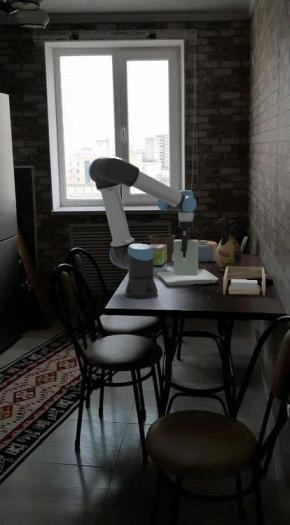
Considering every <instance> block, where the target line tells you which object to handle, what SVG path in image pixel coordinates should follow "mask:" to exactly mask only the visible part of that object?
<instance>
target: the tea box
mask: <svg viewBox="0 0 290 525" xmlns="http://www.w3.org/2000/svg"><path fill="white" fill-rule="evenodd" d="M148 245H149V246H151V247H152V249H153V254H154V257H153V271H154V274H157V272H166V270H167V269H168V262H167V245H155V244H151V243H150V244H148Z"/></svg>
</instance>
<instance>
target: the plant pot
mask: <svg viewBox="0 0 290 525" xmlns="http://www.w3.org/2000/svg"><path fill="white" fill-rule="evenodd" d="M148 237H149V241H150V245H151V244H155V245H167V263H171V262H172V261H173V259H174V240H175V237H176V235H175V234H153V235H149V236H148Z"/></svg>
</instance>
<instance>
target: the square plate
mask: <svg viewBox="0 0 290 525" xmlns="http://www.w3.org/2000/svg"><path fill="white" fill-rule="evenodd" d="M156 275H157V276H158V277H159V278H160V279H161V280H163V281H164V282H165V284H166V285H167V286H171V287H177V286H178V287H180V286H193V285H194V284H198V285H207V284H215V283H216V282H217V281H218V280H219V278H218V277H217V276H215V274H212V272H210V271H208V270H207V269H204V268H203V269H198V275H197V276H182V275H174V270H167V271H166V270H165V271H164V272H157V273H156Z"/></svg>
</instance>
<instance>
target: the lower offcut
mask: <svg viewBox="0 0 290 525" xmlns="http://www.w3.org/2000/svg"><path fill="white" fill-rule="evenodd" d="M260 290H261V289H260V285H257V289H231V284H230V285H228V294H229V295H260Z"/></svg>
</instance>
